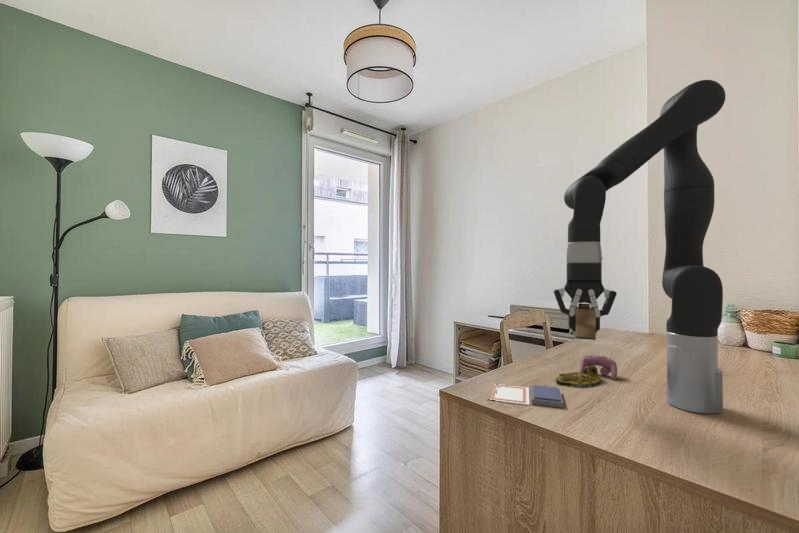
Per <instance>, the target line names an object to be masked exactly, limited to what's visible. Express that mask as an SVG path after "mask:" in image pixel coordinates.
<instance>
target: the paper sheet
mask: <svg viewBox="0 0 799 533" xmlns="http://www.w3.org/2000/svg"><path fill="white" fill-rule="evenodd" d="M493 384H494V388H493V391H492V395H491V399H490V400H492V399H493V400H495V401H494V402H498V401H501V402H500V403H507V402H508V403H509V404H515V405H516V404H517V405H525V406H530V387H524V386H516V385H508V386H505V385H506V384H499V385H496V384H497V383H493ZM497 386H499V387H500V386H502V387H500V388H498V387H497ZM496 387H497V388H496ZM497 389H498V390H497ZM496 390H497V394H496V393H495V391H496ZM494 393H495V395H494ZM494 396H495V397H494ZM490 400H489V401H490Z"/></svg>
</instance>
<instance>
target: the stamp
mask: <svg viewBox="0 0 799 533" xmlns="http://www.w3.org/2000/svg"><path fill="white" fill-rule="evenodd" d="M572 333H573V334H572V335H573V336H574V337H575V339H577V340H591V341H592V340H593V341H596V340H597V337H596V336H597V333H596V310H595V309H592V308H591V307H590V304H589V303H584V302H583V303H578V306H577V308H576V312H575V332H572Z"/></svg>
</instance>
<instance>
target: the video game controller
mask: <svg viewBox="0 0 799 533" xmlns="http://www.w3.org/2000/svg"><path fill="white" fill-rule="evenodd" d="M586 366H600V367H601V368H600V370H599V372H600V374H601V375H602V376H604V375H605V376H604V377H607V376H608V375H609V374H610V373H611V374H610V375H611V378H612V380H614V381H615V380H617V378H618V365H617V362H616V361H614V360H613V359H612V358H610V357H607V356H604V355H599V354H597V355H596V354H594V355H593V354H592V355H591V354H590V355H585V356H584V357H582V358H581V360H580V363H579V372H582V373H583V372H584V369H585V367H586Z"/></svg>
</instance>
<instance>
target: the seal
mask: <svg viewBox="0 0 799 533" xmlns="http://www.w3.org/2000/svg"><path fill="white" fill-rule="evenodd" d="M601 382H602V381H601V376H600V375H599V373H598V368H597V365H594V366H586V367H585V369H584V372H583V373H582V372H580V371H574V372H568V373H560V374H558V376H556V379H555V383H556V384H558V385H562V386H566V385H567V387H570V386H574V387H573V388H589V387H590V388H591V386H592V387H595V385H596V386H598V384H599V385H600V384H601Z"/></svg>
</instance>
